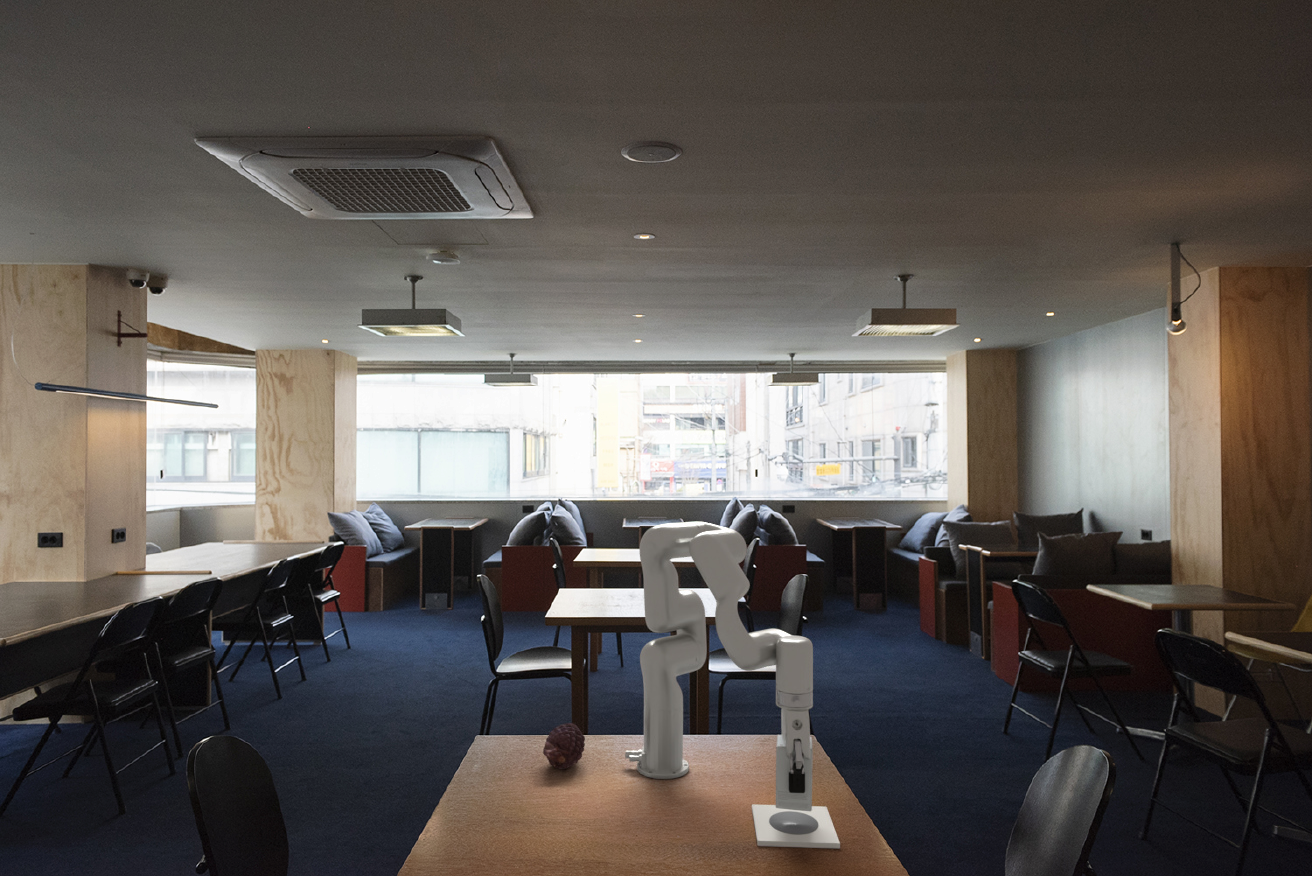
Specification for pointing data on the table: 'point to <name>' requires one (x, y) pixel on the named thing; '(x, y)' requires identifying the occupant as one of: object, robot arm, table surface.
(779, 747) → the supplement box
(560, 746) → the pine cone
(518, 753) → the table surface
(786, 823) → the mat
